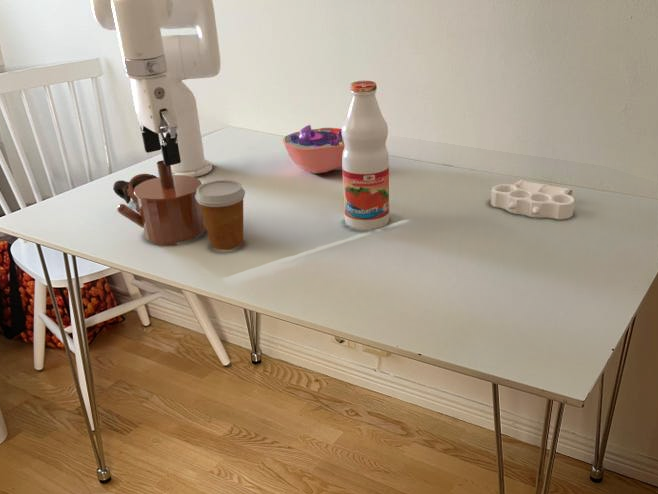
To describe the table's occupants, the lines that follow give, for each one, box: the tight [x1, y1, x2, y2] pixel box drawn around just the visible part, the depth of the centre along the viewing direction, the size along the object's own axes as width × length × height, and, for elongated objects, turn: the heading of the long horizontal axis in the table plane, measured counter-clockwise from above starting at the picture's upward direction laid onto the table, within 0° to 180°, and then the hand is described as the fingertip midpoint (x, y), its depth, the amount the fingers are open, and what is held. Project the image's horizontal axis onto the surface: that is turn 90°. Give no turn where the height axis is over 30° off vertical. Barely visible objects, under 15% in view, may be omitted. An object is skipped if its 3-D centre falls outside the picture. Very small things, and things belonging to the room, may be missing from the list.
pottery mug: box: [112, 173, 159, 213], centre depth 159 cm, size 12×10×8 cm
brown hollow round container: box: [137, 193, 207, 246], centre depth 145 cm, size 13×13×10 cm
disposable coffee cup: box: [195, 179, 246, 251], centre depth 138 cm, size 10×10×12 cm
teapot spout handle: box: [116, 203, 144, 229], centre depth 145 cm, size 21×2×6 cm, turn 105°
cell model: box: [282, 124, 344, 175], centre depth 173 cm, size 17×20×11 cm
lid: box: [134, 159, 203, 201], centre depth 141 cm, size 13×13×6 cm
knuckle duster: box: [490, 179, 576, 221], centre depth 152 cm, size 3×18×15 cm
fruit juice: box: [341, 80, 390, 231], centre depth 141 cm, size 9×9×28 cm
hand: (162, 157), depth 139 cm, fingers open, 9 cm apart
